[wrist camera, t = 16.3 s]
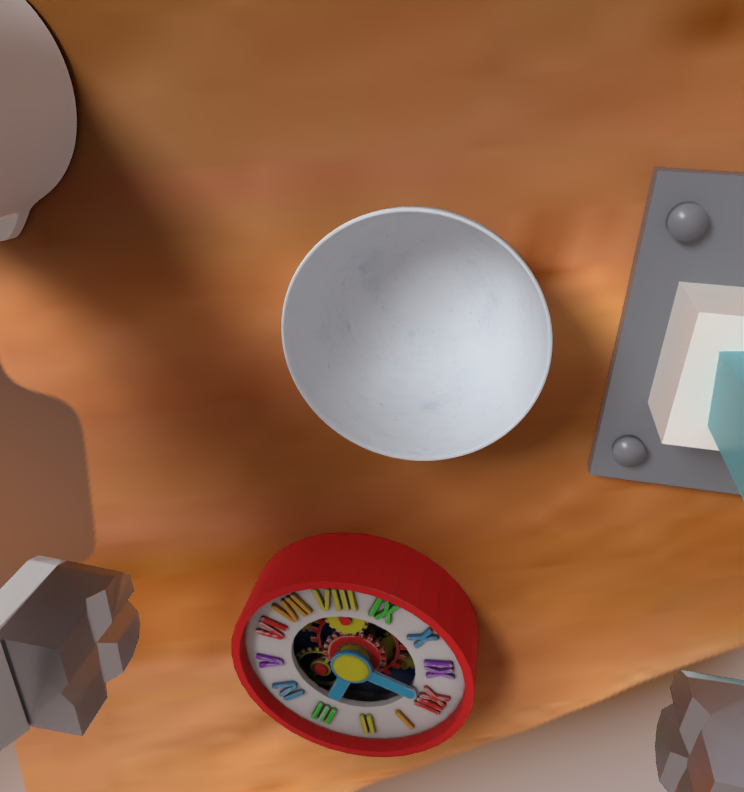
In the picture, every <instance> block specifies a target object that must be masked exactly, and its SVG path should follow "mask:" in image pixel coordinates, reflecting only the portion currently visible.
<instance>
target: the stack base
mask: <svg viewBox="0 0 744 792" xmlns="http://www.w3.org/2000/svg"><path fill="white" fill-rule="evenodd" d="M719 351H744V172H727V171H711V170H695V169H679V168H663V167H654V171H653V175H652V180H651V184H650V189H649V193H648V198H647V202H646V207H645V211H644V216H643V220H642V225H641V229H640V234H639V238H638V243H637V247H636V252H635V256H634V261H633V265H632V270H631V274H630V279H629V283H628V288H627V292H626V297H625V301H624V306H623V310H622V315H621V319H620V324H619V328H618V333H617V337H616V342H615V346H614V351H613V355H612V360H611V364H610V369H609V373H608V377H607V382H606V386H605V391H604V395H603V400H602V404H601V409H600V413H599V418H598V422H597V427H596V431H595V436H594V440H593V445H592V449H591V454H590V458H589V463H588V468H589V475H596V476H603V477H611V478H618V479H626V480H633V481H641V482H648V483H655V484H663V485H670V486H678V487H685V488H693V489H700V490H708V491H715V492H723V493H730V494H738V495H740V493H739V491H738V489H737V486H736V484H735V482H734V480H733V478H732V476H731V474H730V472H729V470H728V468H727V466H726V463H725V461H724V459H723V457H722V455H721V453H720V451H719V449H718V447H717V445H716V443H715V440H714V438H713V436H712V434H711V432H710V430H709V428H708V420H709V413H710V407H711V401H712V395H713V389H714V382H715V376H716V370H717V364H718V357H719Z"/></svg>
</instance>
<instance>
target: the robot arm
mask: <svg viewBox="0 0 744 792" xmlns="http://www.w3.org/2000/svg"><path fill="white" fill-rule="evenodd" d="M76 132H77V113H76V103H75V97H74V92H73V87H72V83H71V79H70V76H69V73H68V70H67V67H66V64H65V62H64V59H63V57H62V55H61V52H60V50H59V48H58V46H57V44H56V42H55V41H54V39H53V37H52V35H51V34H50V32H49V30H48V29H47V27H46V26H45V24H44V23H43V21H42V20H41V19H40V17H39V16H38V15H37V13H36V12H35V11H34V10H33V8H32V7H31V6H30V5H29V4H28V3H27V2H26V1H25V0H0V241H5V240H9V239H14V238H16V237H17V236H18V235H19V234H20V233H21V231H22V229H23V227H24V225H25V222H26V220H27V217H28V215H29V212H30V209H31V208H32V207H33V205H34V204H35V203H36V202H38V201H39V200H40V199H41V198H43V197H44V196H45V195H46V194H48V193H49V192H50V191H51V190H52V189H53V188H54V187H55V186H56V185H57V184H58V183H59V181H60V180H61V178H62V177H63V175H64V174H65V172H66V170H67V168H68V166H69V163H70V161H71V158H72V155H73V151H74V146H75V141H76ZM133 592H134V588H133V584H132V580H131V575H129V574H127V573H124V572H120V571H115V570H110V569H105V568H101V567H96V566H91V565H86V564H81V563H76V562H71V561H64V560H59V559H54V558H49V557H44V556H37V557H34V558H32V559H30V560H28V561H27V562H26V563H25V564H24V565H23V566H22V567H21V568H20V569H19V570H18V571H17V573H15V574H14V575H13V576H12V578H11V579H10V580H9V581H8V582H7V583H6V584H5V585H4V586H3V587H2V588H1V589H0V751H1V750H2V749H3V748H5V747H6V746H8V745H9V744H10V743H12V742H13V741H15V740H16V739H17V738H19V737H20V736H21V735H23V734H24V733H26V732H27V731H28V730H29V729H30V728H29V726H32V727H37V728H43V729H48V730H53V731H58V732H64V733H69V734H74V735H80V736H83V734H84V733H85V731H86V730H87V728H88V727H89V725H90V723H91V722H92V720H93V719H94V717H95V716H96V714H97V713H98V711H99V709H100V708H101V706H102V705H103V703H104V702H105V700H106V699H107V689H106V682H108V681H110V680H111V679H113V678H115V677H116V676H118V675H120V674H121V673H123V672H124V670H125V668H126V667H127V665H128V663H129V662H130V660H131V658H132V657H133V654H134V651H135V648H136V645H137V642H138V639H139V632H140V619H139V613H138V611H137V610H136V609H135V607H134V606H133V605H132V604H131V603H130V602H129V601H128V599H129V597H130V596H131V595H132V593H133ZM670 690H671V694H672V699H673V704H671V705H669V706H667V707H665V708H664V709H662V711H661V715H660V718H659V721H658V724H657V731H656V742H655V751H656V764H657V770H658V776H659V781H660V783H661V784H662V785H663V786H664V788H665V789H666V790H667V791H668V792H744V680H740V679H734V678H727V677H721V676H715V675H709V674H703V673H697V672H691V671H685V670H680V671H679V672H678V673H677V674H676V675H675V676H674V679H673V681H672V684H671V687H670Z"/></svg>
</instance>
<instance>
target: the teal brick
mask: <svg viewBox="0 0 744 792" xmlns="http://www.w3.org/2000/svg"><path fill="white" fill-rule="evenodd" d="M708 428H709V430H710V432H711V434H712V436H713V438H714V440H715V443H716V445H717V447H718V449H719V451H720V453H721V455H722V457H723V459H724V461H725V463H726V466H727V468H728V470H729V472H730V474H731V476H732V478H733V480H734V482H735V484H736V486H737V489H738V491H739V493H740V495H741V497H742V499H743V501H744V351H719V357H718V364H717V370H716V376H715V382H714V389H713V395H712V401H711V407H710V413H709V420H708Z"/></svg>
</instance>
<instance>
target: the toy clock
mask: <svg viewBox="0 0 744 792" xmlns="http://www.w3.org/2000/svg"><path fill="white" fill-rule="evenodd" d="M478 634H479V628H478V623H477V619H476V614H475V611H474V609H473V607H472V605H471V603H470V601H469V598H468V597H467V595H466V594H465V592H464V591H463V590H462V588H461V587H460V586H459V584H458V583H457V582H456V581H455V580H454V579H453V578H452V577H451V576H450V575H449V574H448V573H447V572H446V571H445V570H444V569H443V568H442V567H440V566H439V565H438V564H436V563H435V562H433V561H432V560H431V559H429V558H428V557H427V556H425V555H423V554H421V553H419V552H417V551H415V550H413V549H411V548H410V547H408V546H405V545H402V544H400V543H397V542H394V541H391V540H389V539H385V538H381V537H376V536H372V535H367V534H358V533H345V532H344V533H329V534H321V535H317V536H312V537H308V538H305V539H302V540H300V541H298V542H295V543H293V544H290V545H289V546H287V547H286V548H284V549H283V550H281V551H280V552H278V553H277V554H276V555H275V556H274V557H273V558H272V559H271V560H270V561H269V562H268V563H267V564H266V566H265V567H264V569H263V571H262V573H261V574H260V576H259V578H258V580H257V582H256V584H255V586H254V588H253V590H252V593H251V595H250V597H249V599H248V601H247V603H246V605H245V607H244V609H243V611H242V613H241V615H240V617H239V619H238V621H237V624H236V626H235V629H234V633H233V636H232V658H233V663H234V667H235V670H236V672H237V675H238V677H239V679H240V681H241V683H242V685H243V686H244V688H245V689H246V691H247V692H248V694H249V695H250V697H251V698H252V699H253V700H254V701H255V702H256V703H257V705H258V706H259V707H260V708H261V709H262V710H263V711H264V712H265V713H267V714H268V715H269V716H270V717H271V718H273V719H274V720H275V721H276V722H278V723H279V724H281V725H282V726H284V727H285V728H287V729H288V730H290V731H291V732H293V733H295V734H297V735H299V736H301V737H303V738H305V739H307V740H309V741H311V742H313V743H316V744H319V745H321V746H324V747H326V748H329V749H333V750H337V751H341V752H345V753H349V754H355V755H362V756H371V757H393V756H405V755H409V754H414V753H418V752H422V751H425V750H427V749H430V748H432V747H435V746H438V745H439V744H441V743H442V742H444V741H446V740H447V739H449V738H450V737H452V736H453V735H454V734H455V733H456V732H457V731H458V730H459V729H460V728H461V727H462V726H463V724H464V722H465V721H466V719H467V717H468V716H469V714H470V711H471V708H472V704H473V701H474V692H475V679H476V666H477V654H478Z"/></svg>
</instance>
